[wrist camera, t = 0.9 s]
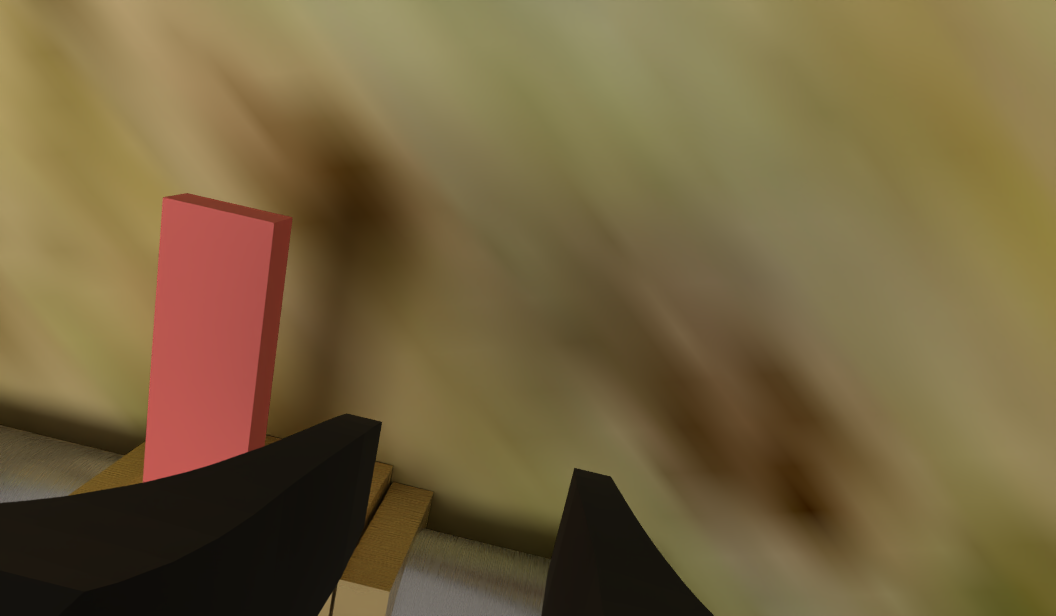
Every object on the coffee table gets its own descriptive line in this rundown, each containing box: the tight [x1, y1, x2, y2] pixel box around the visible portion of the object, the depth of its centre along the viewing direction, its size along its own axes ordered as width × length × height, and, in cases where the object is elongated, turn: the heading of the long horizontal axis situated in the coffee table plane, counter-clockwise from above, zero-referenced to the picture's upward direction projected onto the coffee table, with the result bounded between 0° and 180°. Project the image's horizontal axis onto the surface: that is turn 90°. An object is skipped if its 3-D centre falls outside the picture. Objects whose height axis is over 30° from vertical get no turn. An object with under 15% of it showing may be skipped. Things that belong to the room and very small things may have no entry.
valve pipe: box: [0, 425, 551, 616], centre depth 22 cm, size 26×6×6 cm, turn 78°
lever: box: [143, 193, 292, 482], centre depth 17 cm, size 14×4×1 cm, turn 168°
